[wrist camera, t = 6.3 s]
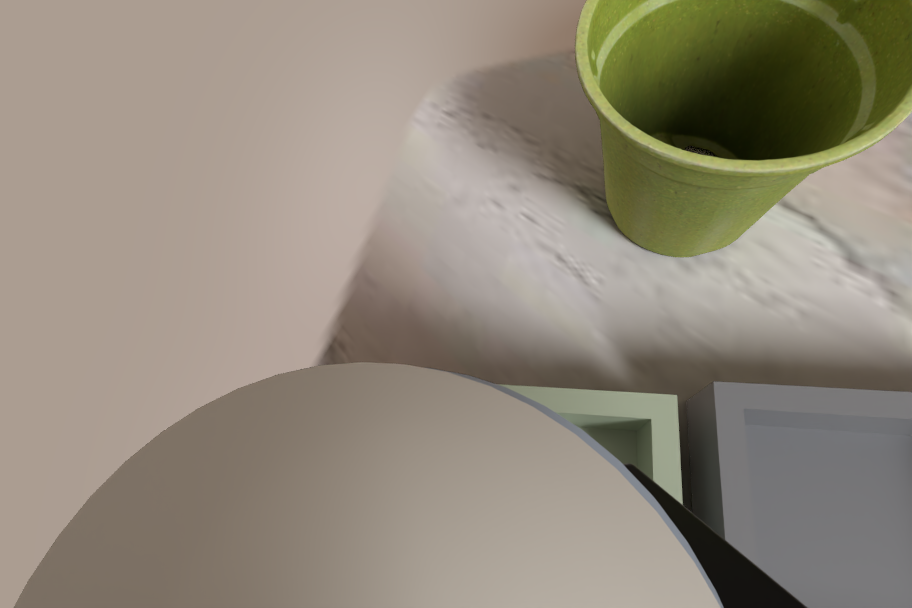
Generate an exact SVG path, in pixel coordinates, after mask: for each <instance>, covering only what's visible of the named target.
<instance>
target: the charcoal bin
mask: <svg viewBox="0 0 912 608" xmlns="http://www.w3.org/2000/svg"><path fill="white" fill-rule="evenodd" d="M686 402H687V420H688V438H689V456H690V474H691V492H692V510H693V514H694V515H696V516H697V517H698V518H699V519H701V520H702V521H703V522H704V523H705V524H707V525H708V526H709V527H710V528H711V529H713V530H714V531H715V532H716V533H718V534H719V535H720V536H721V537H722V538H724V539H725V540H726V541H727V542H729V543H730V544H731V545H732V546H733V547H735V548H736V549H737V550H738V551H739V552H741V553H742V554H743V555H744V556H746V557H747V558H748V559H749V560H750V561H752V562H753V563H754V564H755V565H756V566H758V567H759V568H760V569H761V570H763V571H764V572H765V573H766V574H767V575H769V576H770V577H771V578H772V579H774V580H775V581H776V582H777V583H778V584H780V585H781V586H782V587H783V588H784V589H786V590H787V591H788V592H789V593H791V594H792V595H793V596H794V597H795V598H797V599H798V600H799V601H800V602H802V603H803V604H804V605H805V606H806V607H808V608H912V392H901V391H882V390H864V389H845V388H827V387H809V386H790V385H772V384H753V383H735V382H716V381H713V382H712V383H711V384H709V385H708V386H707V387H705V388H704V389H702V390H701V391H700V392H698V393H697V394H696V395H694V396H693V397H692V398H690V399H689V400H688V401H686Z"/></svg>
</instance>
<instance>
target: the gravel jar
mask: <svg viewBox="0 0 912 608" xmlns="http://www.w3.org/2000/svg"><path fill="white" fill-rule="evenodd" d="M14 608H724V607H723V605H722V603H721V601H720V598H719V596H718V594H717V592H716V590H715V588H714V586H713V585H712V583H711V581H710V580H709V578H708V576H707V575H706V573H705V571H704V569H703V568H702V566H701V564H700V563H699V561H698V559H697V557H696V556H695V554H694V552H693V551H692V549H691V547H690V546H689V544H688V542H687V541H686V539H685V538H684V537H683V535H682V534H681V533H680V531H679V530H678V529H677V527H676V526H675V524H674V523H673V522H672V520H671V519H670V518H669V516H668V515H667V514H666V512H665V511H664V510H663V508H662V507H661V506H660V504H659V503H658V502H657V500H656V499H655V498H654V497H653V496H652V495H651V493H650V492H649V491H648V490H647V489H646V488H645V487H644V486H643V485H642V484H641V483H640V482H639V481H638V480H637V479H636V478H635V477H634V476H633V474H632V473H631V472H630V471H629V470H628V469H627V468H626V467H625V466H624V465H623V464H622V463H621V462H620V461H619V460H618V459H617V458H616V457H614V456H613V455H612V454H611V453H610V452H608V451H607V450H606V449H605V448H604V447H602V446H601V445H600V444H599V443H598V442H596V441H595V440H594V439H593V438H592V437H590V436H589V435H588V434H587V433H586V432H584V431H583V430H582V429H580V428H579V427H577V426H576V425H574V424H572V423H571V422H569V421H568V420H566V419H565V418H563V417H562V416H560V415H558V414H557V413H555V412H554V411H552V410H551V409H549V408H548V407H546V406H544V405H542V404H540V403H538V402H536V401H534V400H532V399H530V398H527V397H525V396H523V395H521V394H519V393H517V392H515V391H513V390H511V389H509V388H506V387H503V386H500V385H497V384H494V383H491V382H488V381H485V380H482V379H479V378H476V377H472V376H469V375H465V374H460V373H454V372H449V371H443V370H438V369H433V368H423V367H417V366H412V365H406V364H393V363H372V362H355V363H343V364H331V365H319V366H315V367H310V368H306V369H301V370H297V371H292V372H287V373H283V374H278V375H275V376H273V377H270V378H267V379H264V380H261V381H258V382H256V383H253V384H250V385H247V386H244V387H241V388H238V389H236V390H234V391H232V392H230V393H228V394H226V395H224V396H222V397H220V398H218V399H216V400H214V401H212V402H210V403H208V404H206V405H204V406H202V407H200V408H198V409H197V410H195V411H194V412H192V413H191V414H189V415H187V416H186V417H184V418H183V419H181V420H180V421H178V422H177V423H175V424H174V425H172V426H170V427H169V428H167V429H166V430H164V431H163V432H161V433H160V434H159V435H158V436H156V437H155V438H154V439H153V440H151V441H150V442H149V443H148V444H146V445H145V446H144V447H143V448H142V449H140V450H139V451H138V452H137V453H135V454H134V455H133V456H132V457H131V458H130V459H128V460H127V461H126V462H125V463H124V464H123V465H122V466H121V467H120V468H119V469H118V470H117V471H116V472H115V473H114V474H113V475H112V476H111V477H110V478H109V479H108V480H107V481H106V482H105V483H104V484H103V485H102V486H101V487H100V488H99V489H98V490H97V491H96V492H95V493H94V494H93V495H92V496H91V497H90V498H89V499H88V501H87V502H86V503H85V504H84V505H83V507H82V508H81V509H80V510H79V511H78V513H77V514H76V515H75V516H74V518H73V519H72V520H71V521H70V522H69V524H68V525H67V526H66V527H65V529H64V530H63V531H62V532H61V534H60V535H59V536H58V537H57V539H56V540H55V542H54V543H53V545H52V546H51V548H50V549H49V551H48V552H47V554H46V555H45V557H44V558H43V560H42V561H41V563H40V564H39V566H38V567H37V569H36V570H35V572H34V573H33V575H32V576H31V578H30V579H29V581H28V582H27V584H26V586H25V588H24V590H23V591H22V593H21V595H20V597H19V599H18V601H17V602H16V604H15V606H14Z"/></svg>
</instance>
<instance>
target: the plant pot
mask: <svg viewBox="0 0 912 608" xmlns="http://www.w3.org/2000/svg"><path fill="white" fill-rule="evenodd" d="M575 60H576V67H577V72H578V76H579V79H580V82H581V85H582V88H583V90H584V92H585V94H586V96H587V98H588V100H589V102H590V103H591V105H592V106H593V108H594V109H595V111H596V113H597V115H598V117H599V120H600V127H601V139H602V151H603V164H604V182H605V194H606V202H607V205H608V208H609V210H610V213H611V215H612V217H613V218H614V220H615V222H616V224H617V226H618V228H619V229H620V230H621V231H622V232H623V234H624V235H626V236H627V237H628V238H629V239H630V240H632V241H633V242H634V243H636V244H638V245H639V246H641V247H643V248H645V249H647V250H650V251H652V252H655V253H659V254H662V255H667V256H673V257H692V256H696V255H700V254H703V253H707V252H711V251H714V250H717V249H720V248H723V247H726V246H727V245H729V244H731V243H732V242H734V241H735V240H737V239H738V238H739V237H740V236H741V235H742V234H743V233H744V232H745V231H746V230H747V229H749V228H750V227H751V226H752V225H753V224H754V223H755V222H756V221H758V220H759V219H760V218H761V217H762V216H763V215H764V214H765V213H766V212H767V211H768V210H769V209H771V208H772V207H773V206H774V205H775V204H776V203H777V202H778V201H779V200H781V199H782V198H783V197H784V196H785V195H786V194H787V193H788V192H790V191H791V190H792V189H793V188H794V187H795V186H796V185H798V184H799V183H800V182H801V181H802V180H803V179H805V178H806V177H807V176H808V175H809V174H811V173H814V172H816V171H817V170H819V169H821V168H823V167H826V166H829V165H831V164H834V163H837V162H840V161H842V160H845V159H847V158H850V157H852V156H854V155H856V154H858V153H860V152H862V151H864V150H866V149H868V148H869V147H871V146H873V145H874V144H876V143H877V142H879V141H880V140H881V139H883V138H884V137H885V136H887V135H888V134H889V133H890V132H891V131H893V130H894V129H895V128H896V127H897V126H898V125H899V124H900V123H901V122H902V121H903V120H904V119H905V118H906V117H907V116H908V115H909V114H910V113H911V112H912V0H587V1H586V2H585V4H584V7H583V9H582V11H581V15H580V18H579V21H578V25H577V31H576V39H575ZM688 146H694V147H698V148H701V149H706V150H708V151H710V152H712V153H714V154H715V155H716V157H713V156H707V155H700V154H697V153H693V152H690V151H686V149H685V148H687V147H688Z"/></svg>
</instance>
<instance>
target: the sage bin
mask: <svg viewBox="0 0 912 608" xmlns="http://www.w3.org/2000/svg"><path fill="white" fill-rule="evenodd" d="M497 385H500V386H503V387H506V388H509V389H511V390H513V391H515V392H517V393H519V394H521V395H523V396H525V397H527V398H530V399H532V400H534V401H536V402H538V403H540V404H542V405H544V406H546V407H548V408H549V409H551V410H552V411H554V412H555V413H557V414H558V415H560V416H562V417H563V418H565V419H566V420H568V421H569V422H571V423H572V424H574V425H576V426H577V427H579V428H580V429H582V430H583V431H584V432H586V433H587V434H588V435H589V436H590V437H592V438H593V439H594V440H595V441H596V442H598V443H599V444H600V445H601V446H602V447H604V448H605V449H606V450H607V451H608V452H610V453H611V454H612V455H613V456H614V457H616V458H617V459H618V460H619V461H620V462H621V463H622V464H626V463H631V464H633V465H635V466H636V467H637V468H638V469H640V470H641V471H642V472H643V473H645V474H646V475H647V476H648V477H649V478H651V479H652V480H653V481H654V482H655V483H657V484H658V485H659V486H660V487H662V488H663V489H664V490H665V491H666V492H668V493H669V494H670V495H671V496H673V497H674V498H675V499H676V500H677V501H679V502H680V503H681V504H682V505H683V501H682V481H681V461H680V441H679V421H678V401H677V395H669V394H653V393H636V392H619V391H602V390H585V389H568V388H552V387H535V386H518V385H501V384H497Z"/></svg>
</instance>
